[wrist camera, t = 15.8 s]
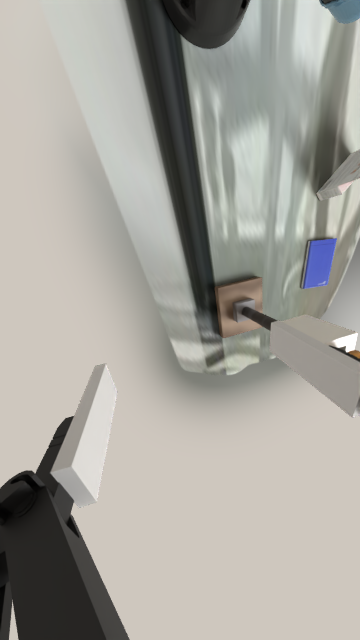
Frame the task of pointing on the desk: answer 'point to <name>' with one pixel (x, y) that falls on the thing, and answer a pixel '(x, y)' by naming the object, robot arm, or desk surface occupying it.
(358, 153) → the ink cartridge box
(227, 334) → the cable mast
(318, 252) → the hard drive
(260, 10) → the desk surface
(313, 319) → the sleeve
